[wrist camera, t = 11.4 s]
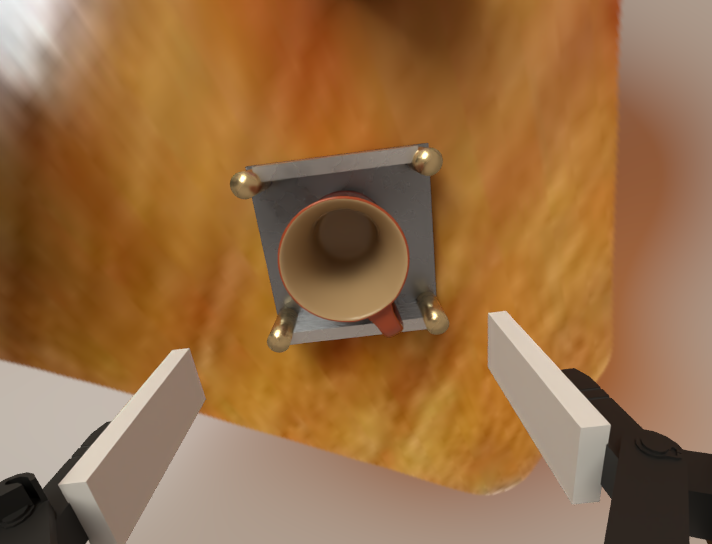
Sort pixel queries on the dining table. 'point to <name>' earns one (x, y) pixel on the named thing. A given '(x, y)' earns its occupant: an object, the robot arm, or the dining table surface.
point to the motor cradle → (388, 190)
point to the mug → (346, 261)
